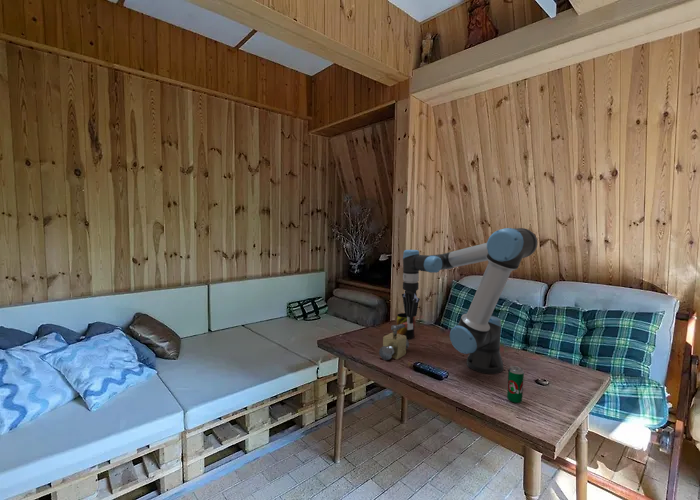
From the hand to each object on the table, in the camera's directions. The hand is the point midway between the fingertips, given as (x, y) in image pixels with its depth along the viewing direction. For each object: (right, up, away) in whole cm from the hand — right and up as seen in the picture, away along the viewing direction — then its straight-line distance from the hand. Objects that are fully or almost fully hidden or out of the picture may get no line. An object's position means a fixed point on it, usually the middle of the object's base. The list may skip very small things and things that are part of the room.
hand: (410, 329), depth 167 cm
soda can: (+30, -16, -43) cm, 55 cm away
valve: (-8, -12, -3) cm, 14 cm away
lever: (-4, -2, 0) cm, 4 cm away
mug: (0, -9, +24) cm, 26 cm away
